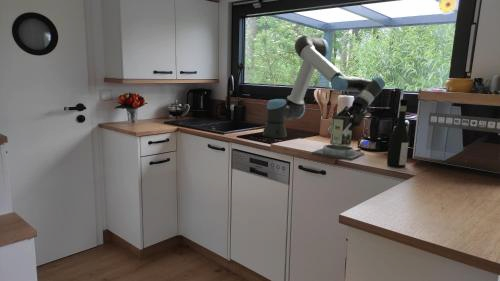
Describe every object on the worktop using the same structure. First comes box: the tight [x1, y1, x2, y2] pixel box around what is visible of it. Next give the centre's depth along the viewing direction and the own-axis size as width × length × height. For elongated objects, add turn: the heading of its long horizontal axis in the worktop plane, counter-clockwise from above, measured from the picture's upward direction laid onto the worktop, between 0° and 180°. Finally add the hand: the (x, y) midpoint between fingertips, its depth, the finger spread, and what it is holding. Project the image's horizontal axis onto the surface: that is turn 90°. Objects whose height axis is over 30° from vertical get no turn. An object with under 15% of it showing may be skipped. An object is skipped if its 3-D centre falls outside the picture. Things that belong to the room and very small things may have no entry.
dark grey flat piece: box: [311, 144, 365, 161], centre depth 184 cm, size 20×20×4 cm
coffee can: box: [329, 115, 353, 147], centre depth 182 cm, size 10×10×14 cm
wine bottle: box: [386, 98, 410, 169], centre depth 161 cm, size 8×8×30 cm
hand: (336, 132), depth 181 cm, fingers closed on coffee can, 10 cm apart
